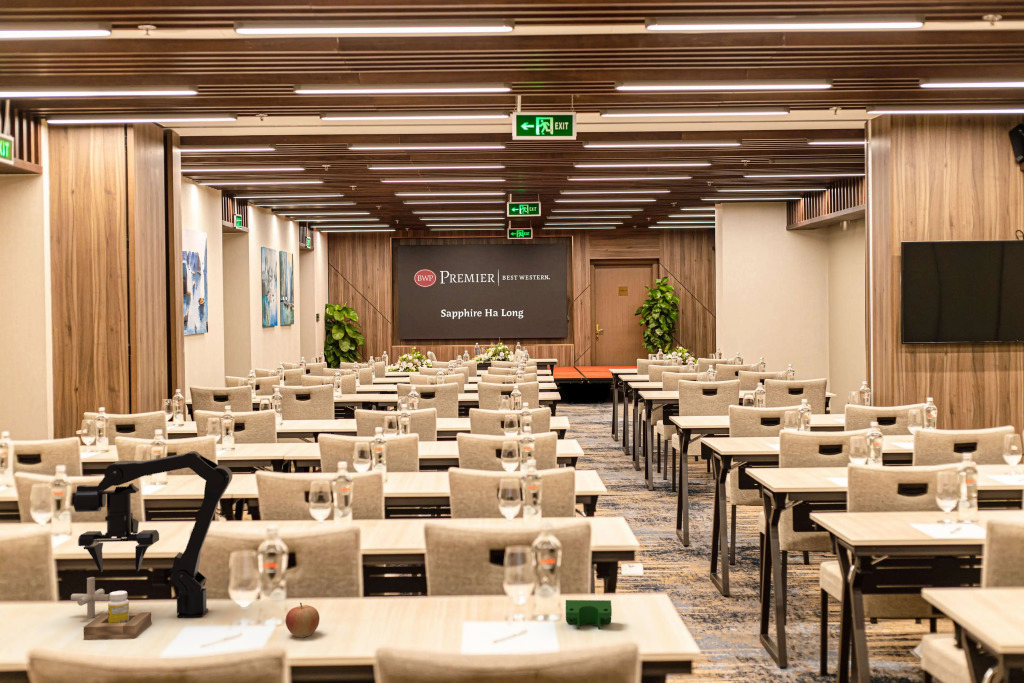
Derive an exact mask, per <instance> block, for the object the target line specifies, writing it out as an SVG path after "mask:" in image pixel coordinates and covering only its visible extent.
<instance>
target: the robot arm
mask: <svg viewBox="0 0 1024 683" xmlns="http://www.w3.org/2000/svg"><path fill="white" fill-rule="evenodd" d="M183 469H190V470H191V471H193V472H194V473H195V474H196V475H198V477H200V478H202V479H203V480H205V484H204V493H203V500H202V503H201V505H200V508H199V511H198V514H197V516H196V520H195V522H194V526H193V527H192V530H191V533H190V536H189V539H188V541H187V544H186V547H185V549H184V552H183V553H182V552H180V551H179V552H178V553H177V554H176V555H175V556H174V558H173V565H172V567H171V569H170V570H169V572H168V573H171V574H170V580H171V583H172V584H173V585H174V586H175V587H177V589H178V596H177V597H176V613H177V614H176V617H177V618H193V617H194V618H200V617H203V616H205V615H206V614H207V613H208V611H209V607H208V608H207V588H204V586H205V585H206V583H207V581H208V580H207V577H206V576H205V575H203V573H201V572H200V571H199V569H200V561H201V552H202V548H203V546H204V544H205V542H206V537H207V536H208V535H207V534H208V532H209V529H210V527H211V524H212V521H213V519H214V515H215V513H216V510H217V509H218V508H217V507H218V504H219V502H220V501H221V499H222V497H223V496H224V494H225V492H226V491H227V489H228V487H229V486H230V484H231V482H232V480H233V472H232V470H231V469H230V468H229V467H228V466H226V465H223V464H222V465H219V464H217V463H216V462H214V461H213V460H211V459H209V458H207V457H205V456H203V455H202V454H200V453H199V452H198V451H196V450H191V451H189V452H185V453H180V454H175V455H169V456H165V457H159V458H154V459H149V460H118V461H116V462H113V463H112V464H109V465H108V466H107V467H106V469H104V473H103V474H104V477H103V478H102V479H101V481H100V482H99V483H98V484H97V485H86V484H81V485H80V484H79V485H77V486H76V492H75V495H74V500H73V508H74V512H75V513H91V512H96V513H97V512H101V510H102V508H105V507H106V515H105V517H104V519H105V520H104V521H106V532H105V534H103V532H102V531H101V530H96V531H95V530H92V531H91V530H89V531H88V530H87V531H86V532H84V533H81V534H80V535H79V536H78V540H77V546H78V547H83V549H84V550H87V552H88V553H89V555H90V556H91V557H92V560H93V561H94V563H95V566H96V567H97V570H98V572H99V573H102V572H104V560H103V559H104V558H103V546H104V543H106V542H107V543H108V542H111V543H113V542H116V543H117V542H136V543H137V545H135V565H134V566H135V571H136V572H139V571H140V568H141V565H142V562H143V560H144V557H145V554H146V552H147V550H148V548H149V547H151V546H152V545H154V544H155V543H157V542H159V541H160V533H159V531H158V530H157V529H144V530H141V531H139V523H140V521H139V520H137V519H135V518H134V517H133V516H134V515H133V512H132V504H131V502H132V501H131V499H132V498H131V494H136V493H138V492H139V491H140V489H139V488H138V487H137V486H135V485H134V483H133V482H132V481H135V480H137V479H140V478H143V477H146V476H151V475H156V474H161V473H167V472H172V471H176V470H183ZM128 482H132V483H129V484H128V485H127V486H120V485H124V484H127V483H128ZM112 487H115V488H114V489H111V490H108V489H110V488H112Z"/></svg>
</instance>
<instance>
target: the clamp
mask: <svg viewBox="0 0 1024 683" xmlns="http://www.w3.org/2000/svg"><path fill="white" fill-rule="evenodd" d="M612 610H613V609H612V600H605V599H604V600H601V599H598V600H597V599H596V600H595V599H593V600H592V599H589V600H588V599H580V600H579V599H565V622H566V623H567V624H568V625H576V630H580V628H581V627H580V626H581V625H584V626H585V625H586V626H587V625H590V626H591V625H595V626H597V630H601V626H603V625H604V626H605V625H606V626H608V625H610V624H611V623H612V616H613V615H612V614H613V613H612V612H613V611H612Z"/></svg>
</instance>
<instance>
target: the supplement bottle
mask: <svg viewBox="0 0 1024 683" xmlns="http://www.w3.org/2000/svg"><path fill="white" fill-rule="evenodd" d="M109 594H110V601H108V604H107V613H108V623H127V622H129V612H130V600H129V599H128V592H127V591H126V590H116V591H112V592H109Z"/></svg>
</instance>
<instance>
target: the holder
mask: <svg viewBox="0 0 1024 683" xmlns="http://www.w3.org/2000/svg"><path fill="white" fill-rule="evenodd" d="M151 625H152V611H141V612H139V611H137V612H135V611H134V612H133V611H132V612H130V611H129V622H127V623H108V612H102V613H101V614H99V615H98V616H97V617H94V619H93V620H90V622H88V623H87V624H85V625H84V626H83V640H115V639H116V640H120V639H121V640H122V639H124V640H125V639H136V638H138V636H139V635H141V634H142V633H143V632H144V631H145V630H147V628H149V627H150V626H151Z"/></svg>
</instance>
